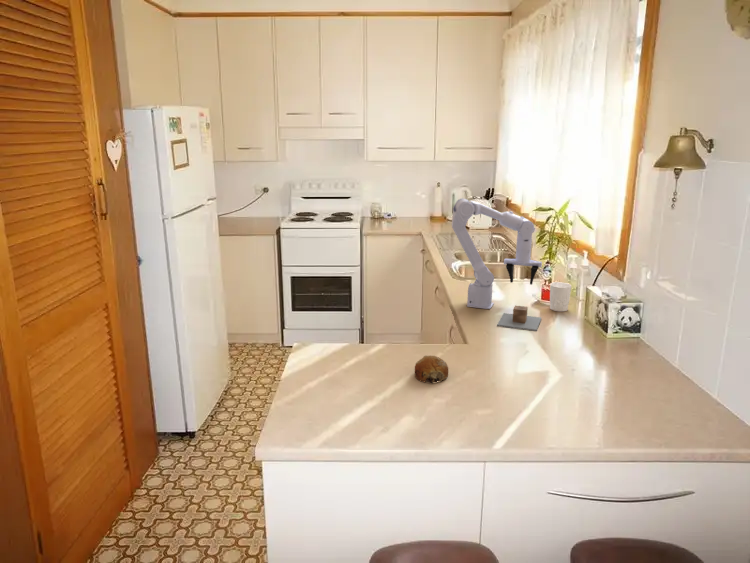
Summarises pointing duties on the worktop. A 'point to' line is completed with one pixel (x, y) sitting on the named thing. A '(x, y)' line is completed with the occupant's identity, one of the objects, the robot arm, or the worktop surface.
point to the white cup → (559, 296)
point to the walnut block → (520, 314)
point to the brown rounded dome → (431, 369)
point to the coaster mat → (530, 323)
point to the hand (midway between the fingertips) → (521, 283)
